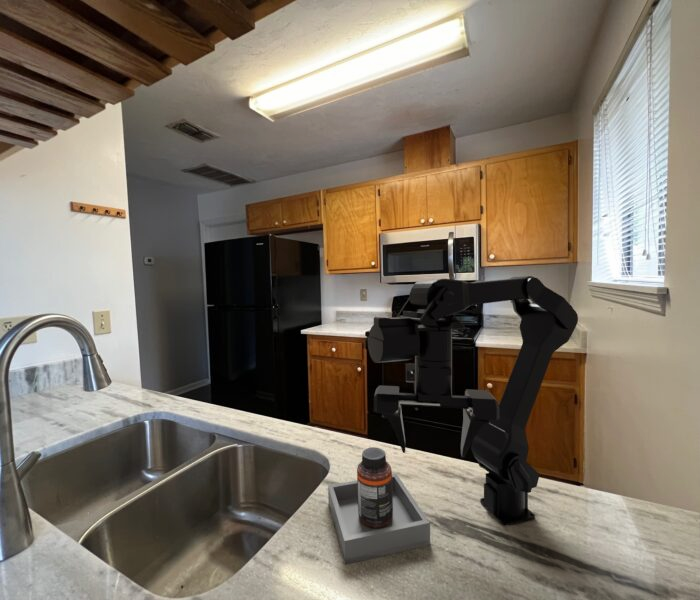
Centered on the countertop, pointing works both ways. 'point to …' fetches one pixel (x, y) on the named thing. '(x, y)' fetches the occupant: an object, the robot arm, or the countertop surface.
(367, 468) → the supplement bottle
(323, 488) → the countertop surface
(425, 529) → the tray
